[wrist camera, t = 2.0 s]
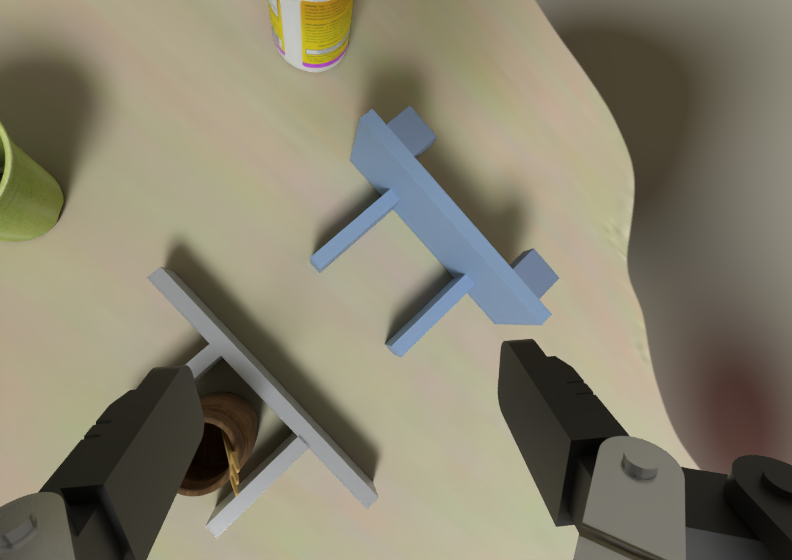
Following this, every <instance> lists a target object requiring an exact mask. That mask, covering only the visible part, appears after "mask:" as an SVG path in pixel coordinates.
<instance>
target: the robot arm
mask: <svg viewBox="0 0 792 560" xmlns="http://www.w3.org/2000/svg"><path fill="white" fill-rule="evenodd" d="M498 400H499V405H500V409H501V412H502V414H503V416H504V419H505V421H506V423H507V425H508V427H509V429H510V431H511V433H512V435H513V437H514V440H515V442H516V444H517V446H518V448H519V450H520V452H521V454H522V456H523V458H524V460H525V463H526V465H527V467H528V469H529V471H530V473H531V475H532V477H533V479H534V481H535V483H536V486H537V488H538V490H539V492H540V494H541V496H542V498H543V500H544V502H545V504H546V506H547V509H548V511H549V513H550V515H551V517H552V519H553V521H554V523H555V525H556V527H558V526H567V525H575V526H576V528H577V530H578V532H579V537H578V541H577V546H576V550H575V555H574V559H573V560H792V465H790V464H787V463H785V462H782V461H779V460H776V459H773V458H769V457H764V456H758V455H748V456H742V457H739V458H737V459H736V460H735V461H734V462H733V464H732V466H731V469H730V472H729V474H728V475H727V474H720V473H714V472H708V471H702V470H695V469H689V468H684V467H680V465H679V464H678V463H677V461H676V460H675V459H674V458H673V457H672V456H671V455H670V454H669V453H667V452H666V451H664V450H663V449H662V448H660V447H658V446H657V445H655V444H652V443H650V442H648V441H645V440H643V439H639V438H636V437H630V436H629V435H628V433H627V432H626V431H625V430H624V429H623V427H622V426H621V425H620V424H619V423H618V421H617V420H616V419H615V418H614V417H613V415H612V414H611V413H610V412H609V411H608V409H607V408H606V407H605V406H604V405H603V403H602V402H601V401H600V400H599V399H598V397H597V396H596V395H593V391H592V390H591V389H590V388H589V387H588V385H587V384H586V383H585V384H584V381H583V379H582V378H581V377H580V376H579V374H578V373H577V372H576V371H575V370H574V368H573V367H571V366H570V365H568V364H567V363H565V362H563V361H562V360H560V359H559V358H557V357H556V356H551V357H547V356H546V355H545V354H544V352H543V351H542V350H541V348H540V347H539V346H538V344H537V343H536V342H535V341H534V340H533V339H524V340H511V341H504V342H503V343H502V346H501V354H500V367H499V380H498ZM203 432H204V414H203V410H202V406H201V403H200V399H199V395H198V392H197V388H196V384H195V381H194V377H193V373H192V371H191V369H190V367H189V366H187V365H182V366H170V367H157V368H153V369H152V370H151V371H150V372H149V373H148V375H147V376H146V377H145V379H144V380H143V381H142V382H141V384H140V385H139V386H138V388H137V389H136V390H130V391H128V392H127V393H126V394H124V395H123V396H121V397H120V398H119V399H117V400H116V401H115V402H113V403H112V404H110V405H109V406H108V408H107V409H106V410H105V411H104V413H103V414H102V415H101V416H100V417H99V419H98V420H97V421H96V425H93V426H92V427H91V428H90V430H89V431H88V432H87V433H86V435H85V436H84V440H81V441H80V442H79V443H78V444H77V446H76V447H75V448H74V449H73V450H72V452H71V453H70V454H69V455H68V457H67V458H66V459H65V460H64V461H63V463H62V464H61V465H60V466H59V468H58V469H57V470H56V471H55V472H54V474H53V475H52V476H51V477H50V478H49V480H48V481H47V482H46V483H45V485H44V486H43V487H42V488H41V489H40V491H39V492H38V493H34V494H30V495H26V496H23V497H21V498H18V499H16V500H13V501H11V502H9V503H7V504H5V505H3V506H2V507H0V560H146V559H147V557H148V555H149V553H150V551H151V548H152V546H153V544H154V542H155V540H156V538H157V535H158V533H159V531H160V529H161V527H162V524H163V522H164V520H165V518H166V516H167V514H168V511H169V509H170V507H171V505H172V503H173V501H174V498H175V496H176V494H177V492H178V490H179V487H180V485H181V483H182V481H183V479H184V477H185V474H186V472H187V470H188V468H189V466H190V464H191V461H192V459H193V457H194V455H195V453H196V451H197V448H198V446H199V444H200V442H201V439H202V436H203Z"/></svg>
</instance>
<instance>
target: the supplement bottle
mask: <svg viewBox="0 0 792 560" xmlns="http://www.w3.org/2000/svg"><path fill="white" fill-rule="evenodd" d="M353 1H354V0H268V6H269V12H270V19H271V26H272V33H273V38H274V42H275V45H276V47H277V49H278V51H279V52H280V54H281V55H282V57H283V58H284V59H285V60H286V61H287V62H288V63H290V64H291V65H293V66H294V67H296V68H298V69H301V70H304V71H307V72H322V71H326V70H329V69H331V68H333V67H334V66H336V65H337V64H338V63H339V62H340V61H341V60H342V59H343V57H344V55H345V53H346V51H347V48H348V42H349V35H350V27H351V18H352V9H353Z"/></svg>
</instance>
